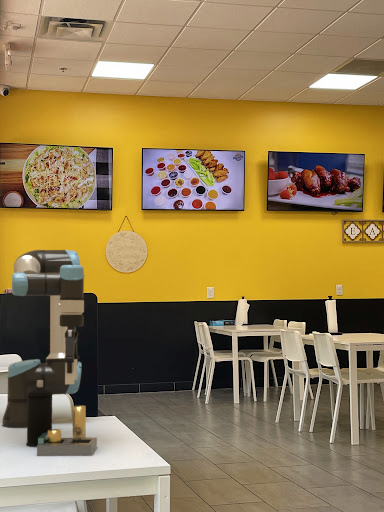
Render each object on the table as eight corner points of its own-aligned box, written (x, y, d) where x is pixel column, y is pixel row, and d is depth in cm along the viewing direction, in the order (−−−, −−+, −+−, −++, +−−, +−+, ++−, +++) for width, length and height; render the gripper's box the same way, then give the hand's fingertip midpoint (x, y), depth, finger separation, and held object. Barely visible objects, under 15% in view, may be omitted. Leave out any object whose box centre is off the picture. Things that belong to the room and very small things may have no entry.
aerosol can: (46, 447, 228) (47, 382, 229) (21, 446, 229) (22, 381, 230) (56, 442, 236) (57, 379, 237) (32, 441, 237) (33, 379, 238)
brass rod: (73, 443, 233) (73, 405, 234) (86, 443, 233) (86, 405, 234) (71, 446, 229) (71, 407, 230) (84, 446, 229) (84, 407, 230)
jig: (44, 447, 227) (44, 427, 228) (96, 447, 227) (96, 426, 228) (36, 455, 215) (37, 434, 216) (91, 455, 215) (91, 433, 216)
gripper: (63, 313, 244) (62, 378, 243) (55, 314, 219) (55, 386, 218) (85, 313, 245) (85, 377, 243) (81, 314, 220) (80, 386, 218)
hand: (71, 381), depth 231 cm, fingers open, 13 cm apart
